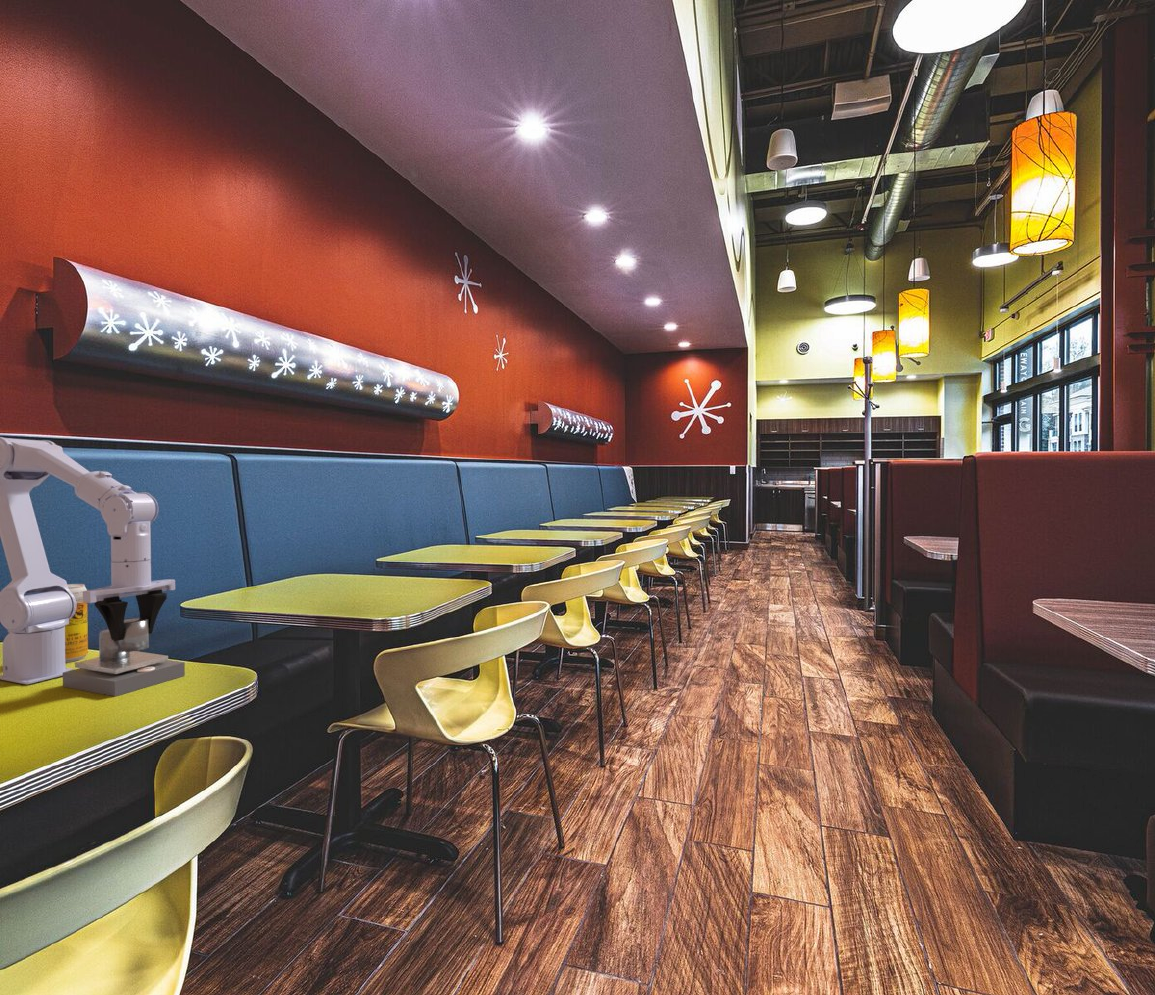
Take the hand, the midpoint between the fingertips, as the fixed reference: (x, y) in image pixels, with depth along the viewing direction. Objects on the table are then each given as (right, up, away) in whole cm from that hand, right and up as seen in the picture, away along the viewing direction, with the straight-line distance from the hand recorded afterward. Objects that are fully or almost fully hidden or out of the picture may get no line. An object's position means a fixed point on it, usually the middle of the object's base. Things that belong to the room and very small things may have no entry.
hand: (132, 636), depth 108 cm
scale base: (-1, -8, +1) cm, 8 cm away
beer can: (-24, -8, +15) cm, 29 cm away
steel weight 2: (0, -2, 0) cm, 2 cm away
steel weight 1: (-5, -4, +2) cm, 7 cm away
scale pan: (-3, -5, +1) cm, 6 cm away
